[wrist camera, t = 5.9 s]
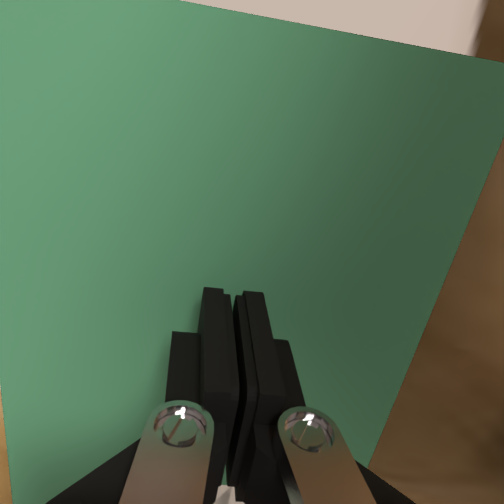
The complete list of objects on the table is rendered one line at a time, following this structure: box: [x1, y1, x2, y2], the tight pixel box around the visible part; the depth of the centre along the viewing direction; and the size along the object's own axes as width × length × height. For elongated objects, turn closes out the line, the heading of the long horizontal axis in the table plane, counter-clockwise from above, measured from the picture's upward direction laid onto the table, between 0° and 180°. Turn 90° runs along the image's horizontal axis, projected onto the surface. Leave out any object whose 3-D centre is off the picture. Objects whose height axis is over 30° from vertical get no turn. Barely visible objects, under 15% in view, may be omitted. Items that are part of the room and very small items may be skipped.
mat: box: [0, 0, 504, 504], centre depth 17 cm, size 28×13×5 cm, turn 171°
